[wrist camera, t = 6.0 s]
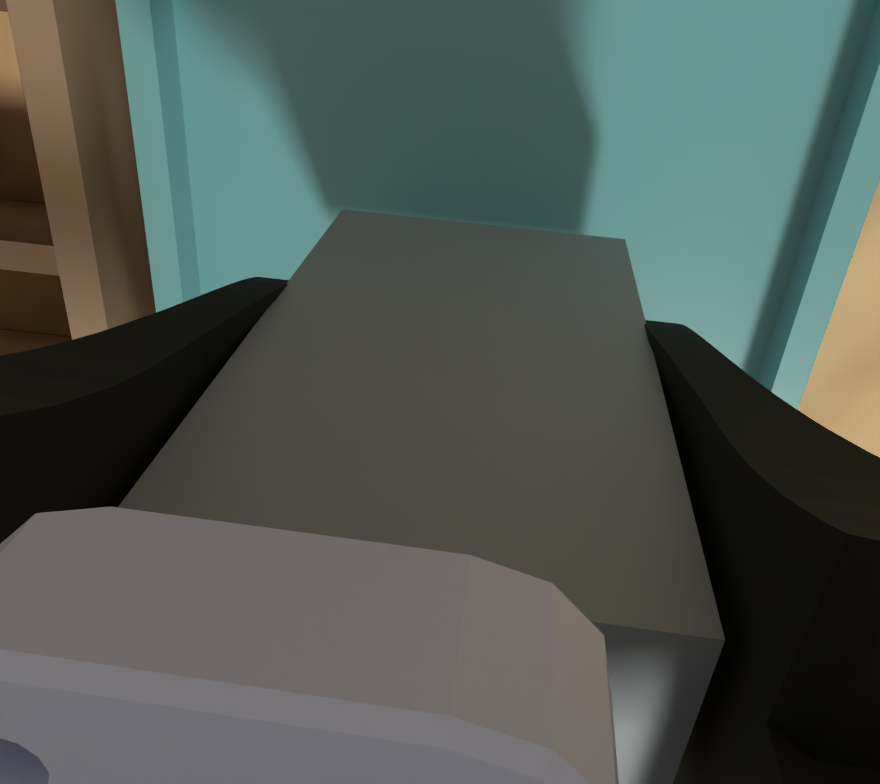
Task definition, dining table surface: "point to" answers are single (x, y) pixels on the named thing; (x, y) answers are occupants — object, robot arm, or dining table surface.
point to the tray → (523, 142)
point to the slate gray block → (472, 438)
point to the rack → (77, 170)
